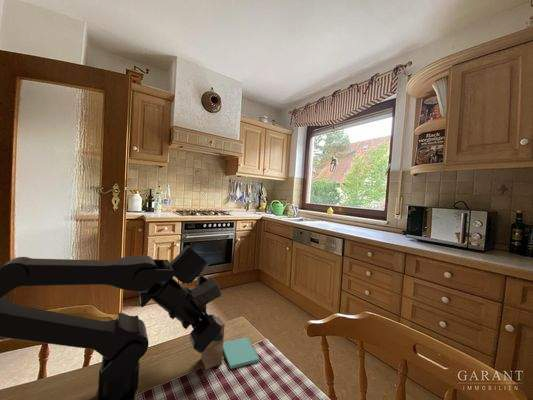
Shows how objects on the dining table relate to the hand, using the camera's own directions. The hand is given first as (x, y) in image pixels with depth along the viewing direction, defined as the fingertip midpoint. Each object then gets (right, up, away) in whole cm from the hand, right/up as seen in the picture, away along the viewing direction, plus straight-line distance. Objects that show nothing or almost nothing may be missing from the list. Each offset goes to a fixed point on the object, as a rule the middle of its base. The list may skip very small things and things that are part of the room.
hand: (218, 333), depth 58 cm
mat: (+5, -7, +3) cm, 9 cm away
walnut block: (-2, -7, 0) cm, 7 cm away
